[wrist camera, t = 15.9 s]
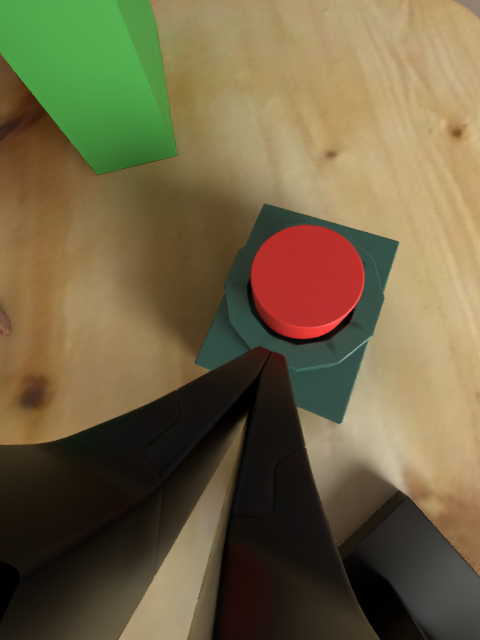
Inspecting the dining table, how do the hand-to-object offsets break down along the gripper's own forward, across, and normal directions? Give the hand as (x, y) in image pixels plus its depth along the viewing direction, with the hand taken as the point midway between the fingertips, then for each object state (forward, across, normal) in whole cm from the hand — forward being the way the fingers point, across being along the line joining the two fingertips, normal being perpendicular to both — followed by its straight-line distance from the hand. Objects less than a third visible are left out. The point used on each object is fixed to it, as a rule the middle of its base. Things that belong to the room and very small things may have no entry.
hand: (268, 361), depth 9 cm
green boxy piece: (+11, 0, +5) cm, 12 cm away
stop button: (+7, 0, +1) cm, 8 cm away
